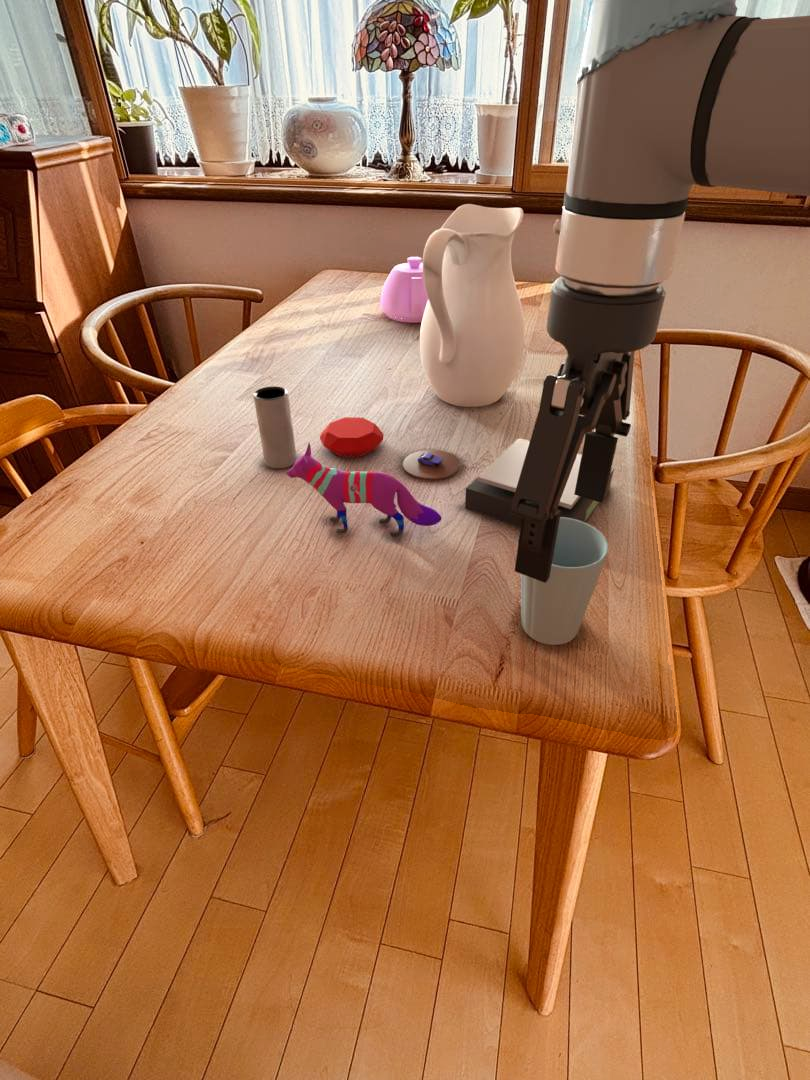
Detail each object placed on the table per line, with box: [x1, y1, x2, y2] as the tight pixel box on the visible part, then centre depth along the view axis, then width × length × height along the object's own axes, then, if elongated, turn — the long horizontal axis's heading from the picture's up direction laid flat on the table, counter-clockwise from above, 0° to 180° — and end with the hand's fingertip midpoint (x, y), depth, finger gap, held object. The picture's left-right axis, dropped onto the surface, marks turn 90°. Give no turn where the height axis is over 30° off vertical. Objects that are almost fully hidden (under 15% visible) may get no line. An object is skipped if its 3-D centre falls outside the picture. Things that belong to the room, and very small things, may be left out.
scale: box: [464, 437, 615, 527], centre depth 79 cm, size 14×14×4 cm
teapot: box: [379, 256, 428, 324], centre depth 140 cm, size 22×16×12 cm
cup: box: [520, 517, 610, 646], centre depth 58 cm, size 8×8×10 cm
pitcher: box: [419, 203, 526, 408], centre depth 96 cm, size 24×17×28 cm
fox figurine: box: [285, 442, 443, 538], centre depth 72 cm, size 4×18×10 cm, turn 85°
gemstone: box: [319, 416, 385, 458], centre depth 91 cm, size 9×9×3 cm
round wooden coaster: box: [402, 449, 462, 482], centre depth 87 cm, size 8×8×2 cm
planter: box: [252, 385, 298, 469], centre depth 86 cm, size 4×4×10 cm
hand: (562, 533), depth 55 cm, fingers open, 13 cm apart
